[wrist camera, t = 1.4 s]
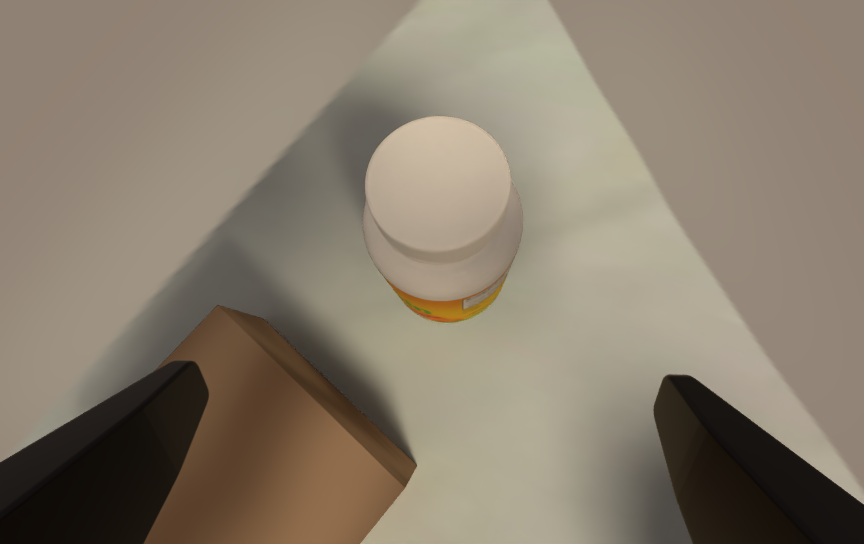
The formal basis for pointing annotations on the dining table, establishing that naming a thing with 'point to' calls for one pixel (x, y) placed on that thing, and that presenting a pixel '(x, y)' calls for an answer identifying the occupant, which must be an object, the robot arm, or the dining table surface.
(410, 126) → the supplement bottle
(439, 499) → the dining table surface
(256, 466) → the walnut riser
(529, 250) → the dining table surface
